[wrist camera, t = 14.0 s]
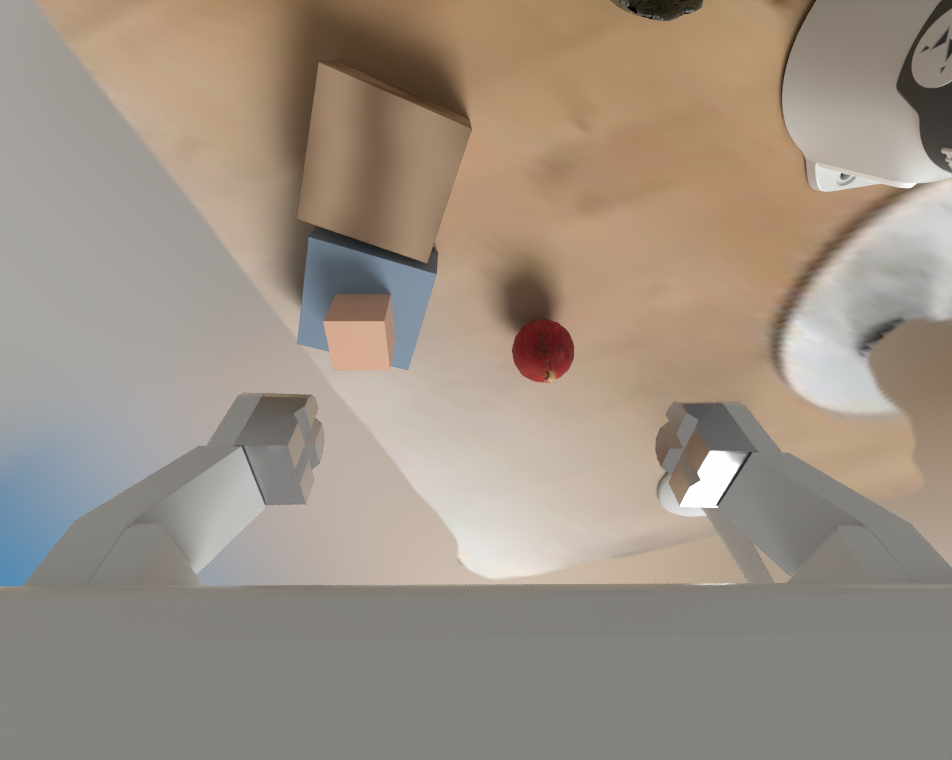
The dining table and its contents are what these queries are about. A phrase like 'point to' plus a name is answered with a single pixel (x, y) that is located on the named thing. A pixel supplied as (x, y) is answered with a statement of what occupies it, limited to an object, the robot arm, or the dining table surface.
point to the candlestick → (721, 535)
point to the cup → (659, 8)
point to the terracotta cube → (360, 331)
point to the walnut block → (379, 161)
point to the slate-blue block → (364, 287)
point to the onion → (543, 350)
